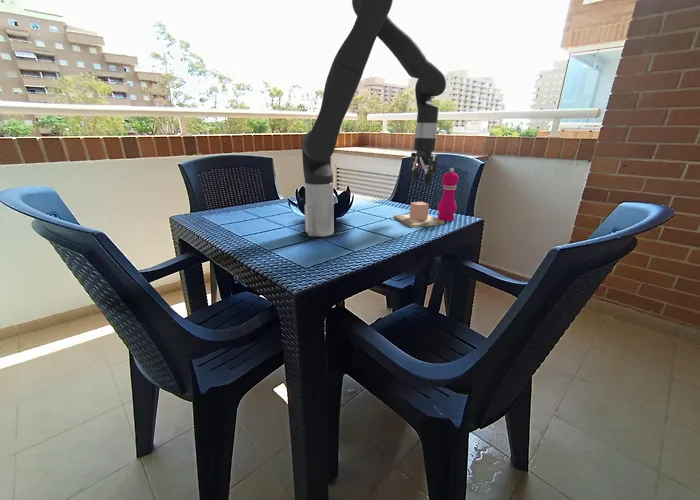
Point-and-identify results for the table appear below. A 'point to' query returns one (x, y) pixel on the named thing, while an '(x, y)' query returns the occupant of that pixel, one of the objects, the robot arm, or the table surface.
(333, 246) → the table surface
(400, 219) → the birch board
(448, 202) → the pepper mill
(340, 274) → the table surface
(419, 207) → the terracotta block
